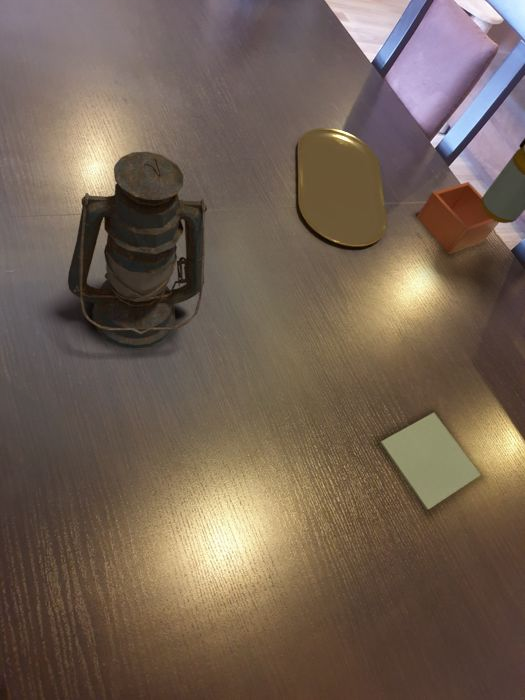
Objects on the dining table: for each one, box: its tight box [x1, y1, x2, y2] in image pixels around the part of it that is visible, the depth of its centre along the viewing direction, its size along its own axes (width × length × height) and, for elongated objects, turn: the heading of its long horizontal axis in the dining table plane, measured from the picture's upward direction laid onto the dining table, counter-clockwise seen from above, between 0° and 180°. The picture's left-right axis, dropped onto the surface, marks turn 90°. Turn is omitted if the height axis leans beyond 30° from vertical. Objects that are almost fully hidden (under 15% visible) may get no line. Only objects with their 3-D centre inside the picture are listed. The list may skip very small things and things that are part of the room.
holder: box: [416, 181, 500, 255], centre depth 118 cm, size 11×11×7 cm
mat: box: [379, 412, 481, 512], centre depth 89 cm, size 12×12×1 cm
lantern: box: [67, 151, 208, 350], centre depth 77 cm, size 19×14×30 cm
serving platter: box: [297, 127, 388, 248], centre depth 118 cm, size 19×35×2 cm, turn 179°
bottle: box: [481, 145, 525, 224], centre depth 93 cm, size 7×7×15 cm
